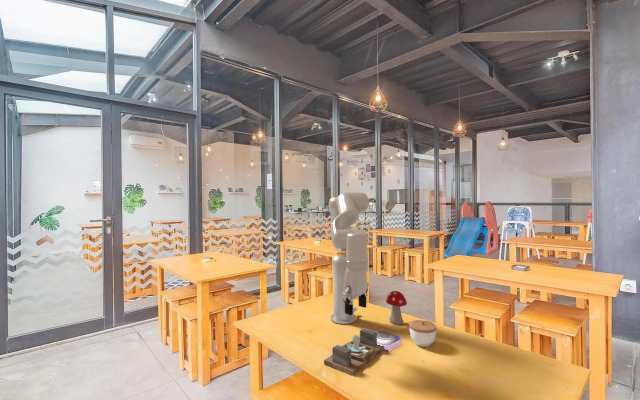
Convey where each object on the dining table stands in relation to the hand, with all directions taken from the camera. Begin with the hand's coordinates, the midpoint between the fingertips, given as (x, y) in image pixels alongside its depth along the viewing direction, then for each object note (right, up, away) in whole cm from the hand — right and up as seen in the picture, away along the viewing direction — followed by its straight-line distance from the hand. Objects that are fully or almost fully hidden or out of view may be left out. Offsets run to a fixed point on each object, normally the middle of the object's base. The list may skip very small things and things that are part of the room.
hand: (355, 310), depth 125 cm
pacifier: (0, -16, -1) cm, 16 cm away
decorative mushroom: (+23, -17, +33) cm, 43 cm away
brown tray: (0, -17, 0) cm, 17 cm away
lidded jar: (+29, -17, +11) cm, 35 cm away
